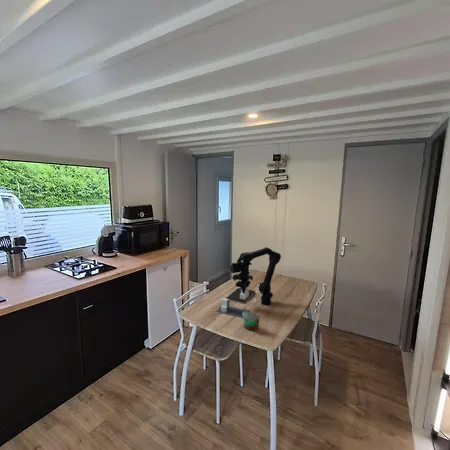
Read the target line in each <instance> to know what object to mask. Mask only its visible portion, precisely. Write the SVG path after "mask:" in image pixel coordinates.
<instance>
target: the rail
mask: <svg viewBox="0 0 450 450" xmlns="http://www.w3.org/2000/svg"><path fill="white" fill-rule="evenodd" d="M221 306H222V304H220V305H219V306H218V308H217V310H215V312H214V313H219V314H223V315H225V316H226V315H228V316H231V317H235V318H240V319H244V316H243V315H242V313H243V310H244V309H245V308H241V307H235V306H231V305H230V307H227V312H222V311H221ZM246 310H247V311H250V312H252V310H248V309H246Z"/></svg>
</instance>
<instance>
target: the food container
mask: <svg viewBox="0 0 450 450" xmlns="http://www.w3.org/2000/svg"><path fill="white" fill-rule="evenodd" d="M243 309H244V310H243V313H242V315H243V316H244V318H243V326H244V328H245V330H247V331H250V332H254V331H258V330H259V325H260V319H261V314H256V313H254V312H253V311H251V310H250V311H251V312H250V311H247V310H248V309H246V308H243Z"/></svg>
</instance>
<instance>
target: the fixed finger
mask: <svg viewBox="0 0 450 450" xmlns="http://www.w3.org/2000/svg"><path fill="white" fill-rule="evenodd" d="M221 305H222V306H221ZM221 305H220V306H221V311H222V312H227V307H230V306H231V303H230V300H229V299H226V297H223V298H222V299H221Z"/></svg>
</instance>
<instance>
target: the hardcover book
mask: <svg viewBox="0 0 450 450" xmlns="http://www.w3.org/2000/svg"><path fill="white" fill-rule="evenodd" d="M248 292H249V296H248V297H246V299H245V300H244V299H240V294H241V293H240V287H237V288H236V289H235V290H234V291H233V292H231V293H230V294H229V295H228V296H226V297H225V298H226V299H229V302H230V301H232V302H235V303H239V304H245V303H246V302H248V301H249V300H250V299H251V298H252V297H253V296H254V295H255V294H256V291H255V290H252V289H248Z"/></svg>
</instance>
